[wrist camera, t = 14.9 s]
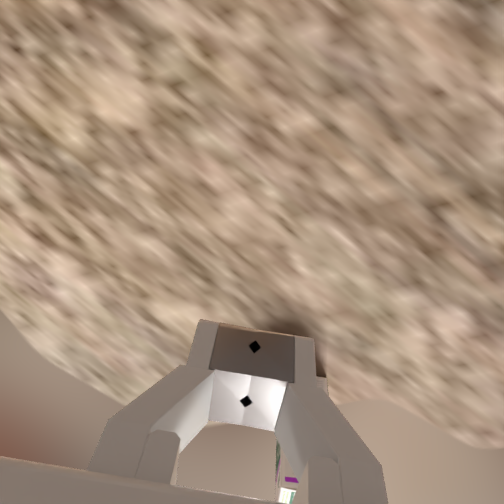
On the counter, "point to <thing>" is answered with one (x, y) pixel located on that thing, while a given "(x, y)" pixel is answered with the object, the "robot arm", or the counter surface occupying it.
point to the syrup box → (284, 472)
